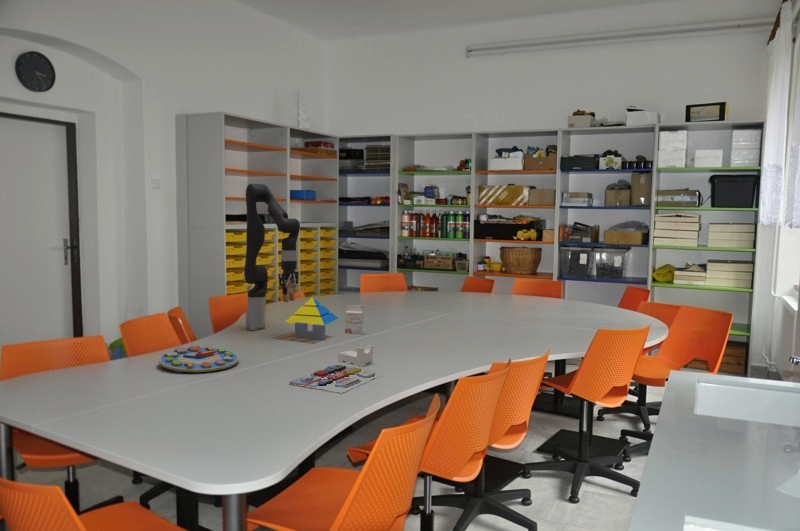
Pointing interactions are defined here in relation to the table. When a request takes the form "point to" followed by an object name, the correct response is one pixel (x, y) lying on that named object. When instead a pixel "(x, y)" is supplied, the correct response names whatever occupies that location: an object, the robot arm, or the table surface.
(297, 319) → the pyramid toy
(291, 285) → the oak slotted plate
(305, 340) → the walnut base board
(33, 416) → the table surface
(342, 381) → the puzzle board
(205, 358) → the shape sorting clock
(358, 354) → the bracket
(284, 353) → the table surface
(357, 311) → the ink cartridge box
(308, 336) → the slate-blue slotted plate
